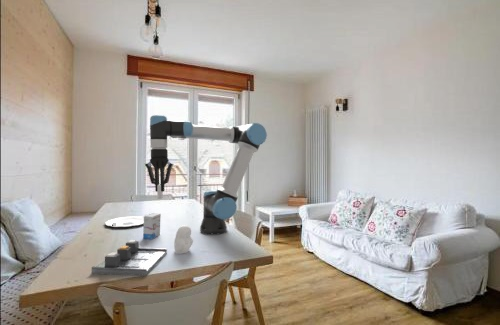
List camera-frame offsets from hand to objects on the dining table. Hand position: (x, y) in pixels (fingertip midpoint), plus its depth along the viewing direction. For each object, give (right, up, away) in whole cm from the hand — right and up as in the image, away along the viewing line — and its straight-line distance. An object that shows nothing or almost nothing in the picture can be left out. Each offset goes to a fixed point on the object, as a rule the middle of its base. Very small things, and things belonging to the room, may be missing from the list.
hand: (160, 198), depth 126 cm
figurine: (+12, -23, -7) cm, 27 cm away
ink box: (-9, -22, +13) cm, 27 cm away
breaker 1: (-9, -22, -27) cm, 36 cm away
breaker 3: (-8, -21, -12) cm, 26 cm away
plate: (-33, -21, +38) cm, 55 cm away
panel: (-4, -23, -20) cm, 31 cm away
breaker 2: (-8, -21, -20) cm, 30 cm away
